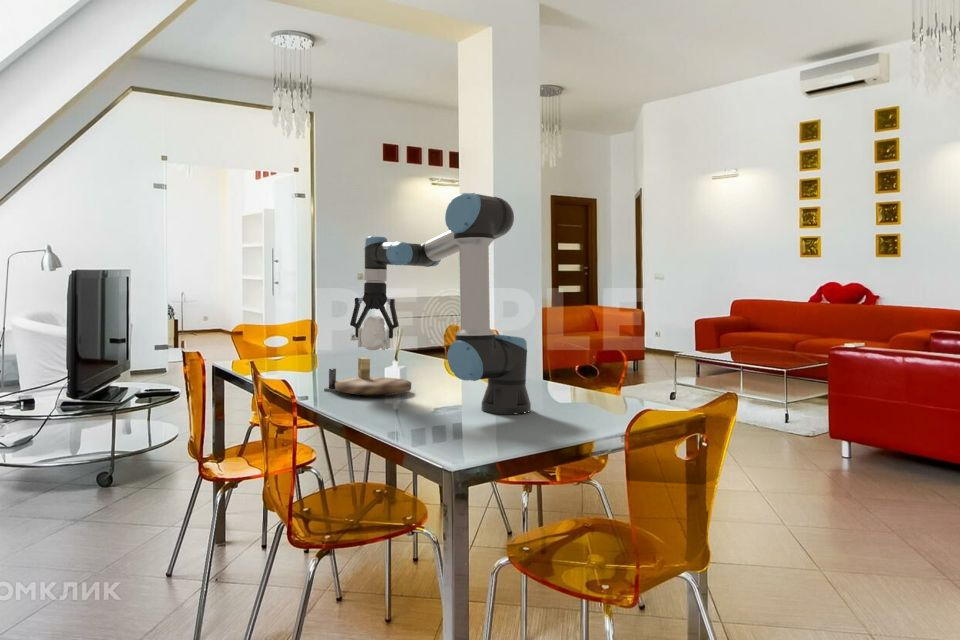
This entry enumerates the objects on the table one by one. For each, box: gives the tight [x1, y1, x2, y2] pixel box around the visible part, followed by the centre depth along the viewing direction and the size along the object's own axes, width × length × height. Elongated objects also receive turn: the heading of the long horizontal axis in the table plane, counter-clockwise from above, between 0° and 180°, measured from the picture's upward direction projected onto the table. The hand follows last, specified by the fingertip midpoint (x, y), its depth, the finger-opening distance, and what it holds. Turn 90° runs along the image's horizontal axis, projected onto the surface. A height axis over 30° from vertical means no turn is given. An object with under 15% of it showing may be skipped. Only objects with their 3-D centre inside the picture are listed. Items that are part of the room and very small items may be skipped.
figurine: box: [361, 314, 389, 351], centre depth 235 cm, size 10×10×12 cm
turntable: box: [335, 356, 412, 395], centre depth 236 cm, size 26×27×9 cm
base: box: [323, 368, 389, 397], centre depth 237 cm, size 24×14×8 cm, turn 85°
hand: (374, 347), depth 236 cm, fingers closed on figurine, 9 cm apart
